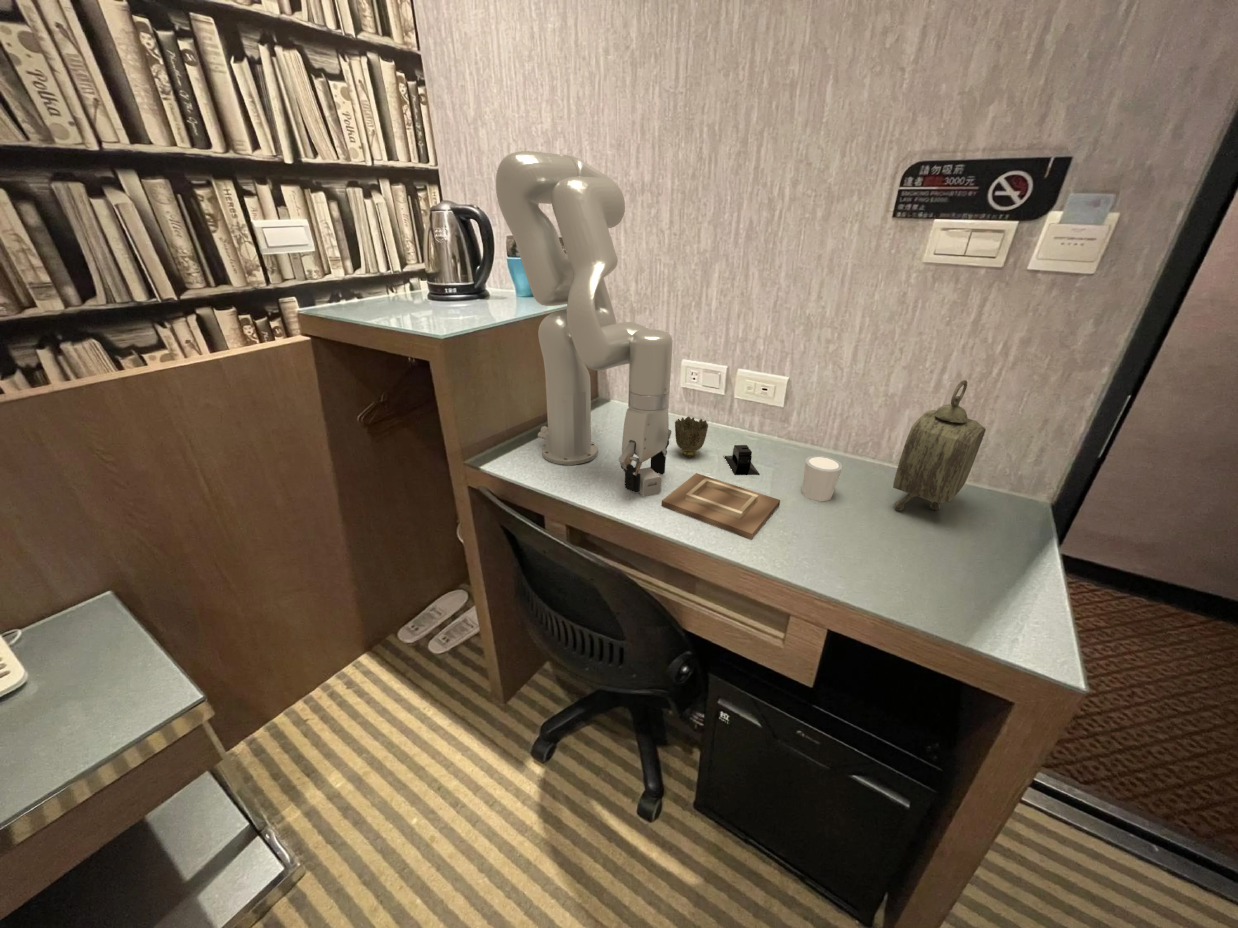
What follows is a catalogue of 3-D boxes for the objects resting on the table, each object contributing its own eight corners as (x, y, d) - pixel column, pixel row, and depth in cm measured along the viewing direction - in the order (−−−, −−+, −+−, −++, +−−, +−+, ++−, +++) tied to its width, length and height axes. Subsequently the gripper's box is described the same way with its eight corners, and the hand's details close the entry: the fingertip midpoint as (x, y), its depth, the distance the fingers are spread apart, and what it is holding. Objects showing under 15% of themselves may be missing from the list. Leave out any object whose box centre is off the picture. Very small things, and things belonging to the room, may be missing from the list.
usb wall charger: (642, 497, 99) (643, 479, 97) (627, 481, 104) (628, 464, 103) (660, 494, 100) (661, 476, 98) (645, 478, 106) (646, 461, 104)
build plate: (765, 480, 107) (768, 460, 105) (731, 480, 107) (734, 461, 105) (747, 454, 118) (749, 436, 116) (716, 455, 118) (718, 437, 116)
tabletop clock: (910, 484, 106) (949, 368, 94) (959, 501, 100) (1006, 379, 89) (884, 510, 96) (923, 384, 85) (936, 529, 91) (985, 397, 79)
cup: (710, 453, 117) (713, 421, 114) (696, 465, 112) (700, 431, 108) (681, 445, 121) (683, 414, 117) (666, 456, 115) (669, 424, 111)
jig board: (661, 505, 96) (662, 495, 95) (695, 477, 106) (696, 467, 105) (751, 539, 87) (753, 527, 86) (779, 505, 97) (781, 494, 96)
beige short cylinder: (836, 490, 103) (843, 459, 100) (833, 506, 97) (841, 474, 94) (801, 482, 106) (807, 452, 102) (796, 497, 100) (803, 466, 97)
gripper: (655, 383, 102) (652, 460, 110) (604, 407, 89) (604, 492, 97) (689, 391, 98) (682, 470, 106) (640, 417, 85) (636, 505, 93)
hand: (645, 480), depth 101 cm, fingers open, 8 cm apart
